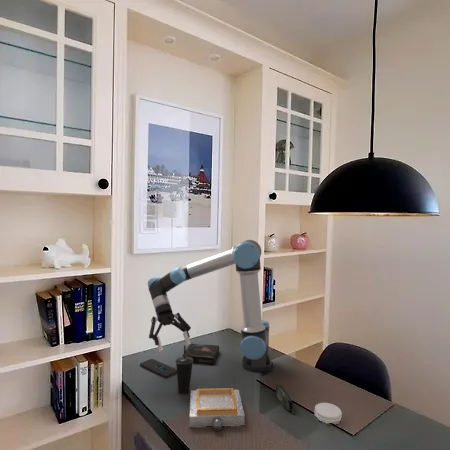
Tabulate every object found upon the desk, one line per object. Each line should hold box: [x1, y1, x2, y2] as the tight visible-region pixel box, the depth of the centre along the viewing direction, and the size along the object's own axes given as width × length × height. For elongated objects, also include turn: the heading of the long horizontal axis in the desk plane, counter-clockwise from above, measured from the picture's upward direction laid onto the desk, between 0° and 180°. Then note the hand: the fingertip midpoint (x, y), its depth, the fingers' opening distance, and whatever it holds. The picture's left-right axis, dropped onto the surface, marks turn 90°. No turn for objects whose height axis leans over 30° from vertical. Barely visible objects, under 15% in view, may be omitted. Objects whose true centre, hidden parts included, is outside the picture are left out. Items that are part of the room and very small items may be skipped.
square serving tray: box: [189, 387, 246, 432], centre depth 132 cm, size 20×21×6 cm
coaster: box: [314, 402, 343, 423], centre depth 132 cm, size 10×10×4 cm
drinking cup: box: [175, 345, 194, 395], centre depth 148 cm, size 8×8×20 cm
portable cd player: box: [181, 342, 220, 366], centre depth 184 cm, size 16×17×4 cm
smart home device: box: [139, 358, 177, 379], centre depth 168 cm, size 8×2×20 cm
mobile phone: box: [275, 384, 296, 415], centre depth 140 cm, size 5×3×15 cm
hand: (175, 348), depth 153 cm, fingers open, 13 cm apart
